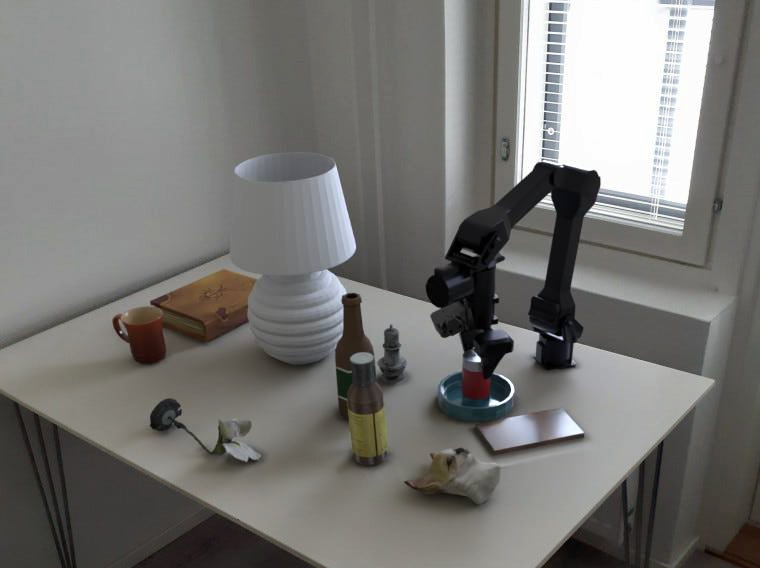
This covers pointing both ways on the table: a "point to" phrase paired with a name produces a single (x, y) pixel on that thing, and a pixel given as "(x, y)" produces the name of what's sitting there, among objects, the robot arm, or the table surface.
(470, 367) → the can
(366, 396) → the sauce bottle
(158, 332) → the mug
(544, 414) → the board
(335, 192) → the table lamp
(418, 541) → the table surface
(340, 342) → the beer bottle
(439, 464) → the ceramic sculpture
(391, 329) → the grey tall rounded piece
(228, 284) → the diary
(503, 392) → the dish
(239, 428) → the artificial flower
